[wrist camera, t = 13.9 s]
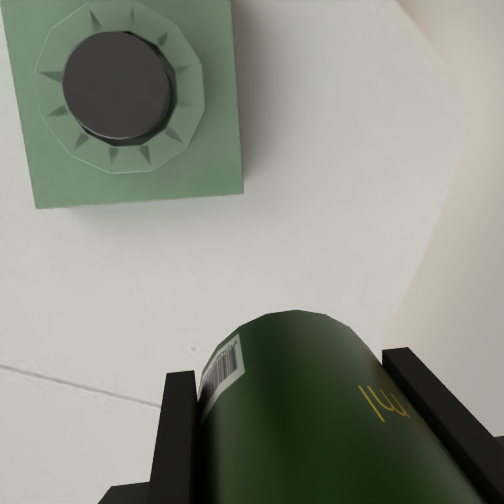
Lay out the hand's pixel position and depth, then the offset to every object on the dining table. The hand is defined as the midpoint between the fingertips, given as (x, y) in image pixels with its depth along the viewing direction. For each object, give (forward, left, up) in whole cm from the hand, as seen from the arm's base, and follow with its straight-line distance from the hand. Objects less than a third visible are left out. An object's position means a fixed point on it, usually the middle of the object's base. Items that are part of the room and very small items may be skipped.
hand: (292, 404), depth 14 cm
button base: (+5, -10, -15) cm, 18 cm away
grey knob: (+5, -10, -10) cm, 15 cm away
